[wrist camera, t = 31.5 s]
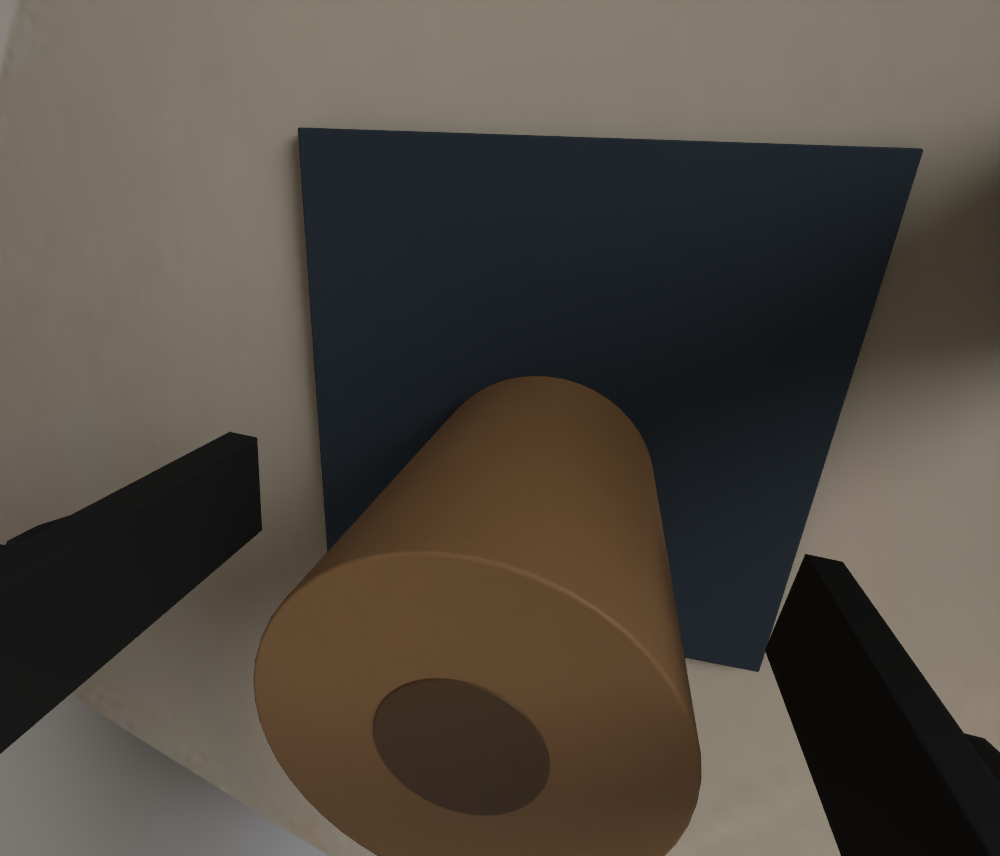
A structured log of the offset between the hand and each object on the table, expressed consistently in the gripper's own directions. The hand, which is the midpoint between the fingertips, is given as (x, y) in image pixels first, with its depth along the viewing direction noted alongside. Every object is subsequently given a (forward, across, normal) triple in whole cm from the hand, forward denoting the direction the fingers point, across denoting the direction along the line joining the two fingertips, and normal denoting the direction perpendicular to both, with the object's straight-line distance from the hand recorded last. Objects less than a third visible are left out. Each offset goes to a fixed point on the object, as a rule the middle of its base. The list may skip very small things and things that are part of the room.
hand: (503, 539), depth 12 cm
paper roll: (+2, 0, +3) cm, 4 cm away
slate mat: (+9, 0, 0) cm, 9 cm away
